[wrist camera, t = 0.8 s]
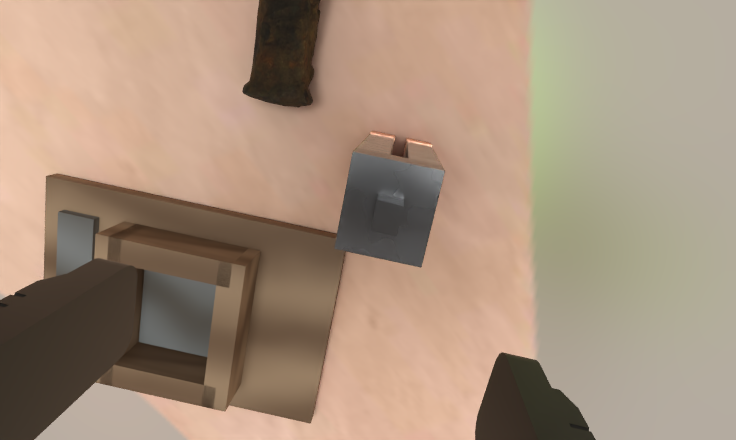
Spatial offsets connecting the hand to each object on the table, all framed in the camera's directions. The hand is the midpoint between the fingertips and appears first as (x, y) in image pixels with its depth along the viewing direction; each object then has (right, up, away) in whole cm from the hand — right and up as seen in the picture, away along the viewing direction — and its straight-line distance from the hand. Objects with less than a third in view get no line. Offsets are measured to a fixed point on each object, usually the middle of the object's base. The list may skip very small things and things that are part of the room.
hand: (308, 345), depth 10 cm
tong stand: (-11, -3, +23) cm, 26 cm away
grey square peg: (+3, +6, +19) cm, 21 cm away
